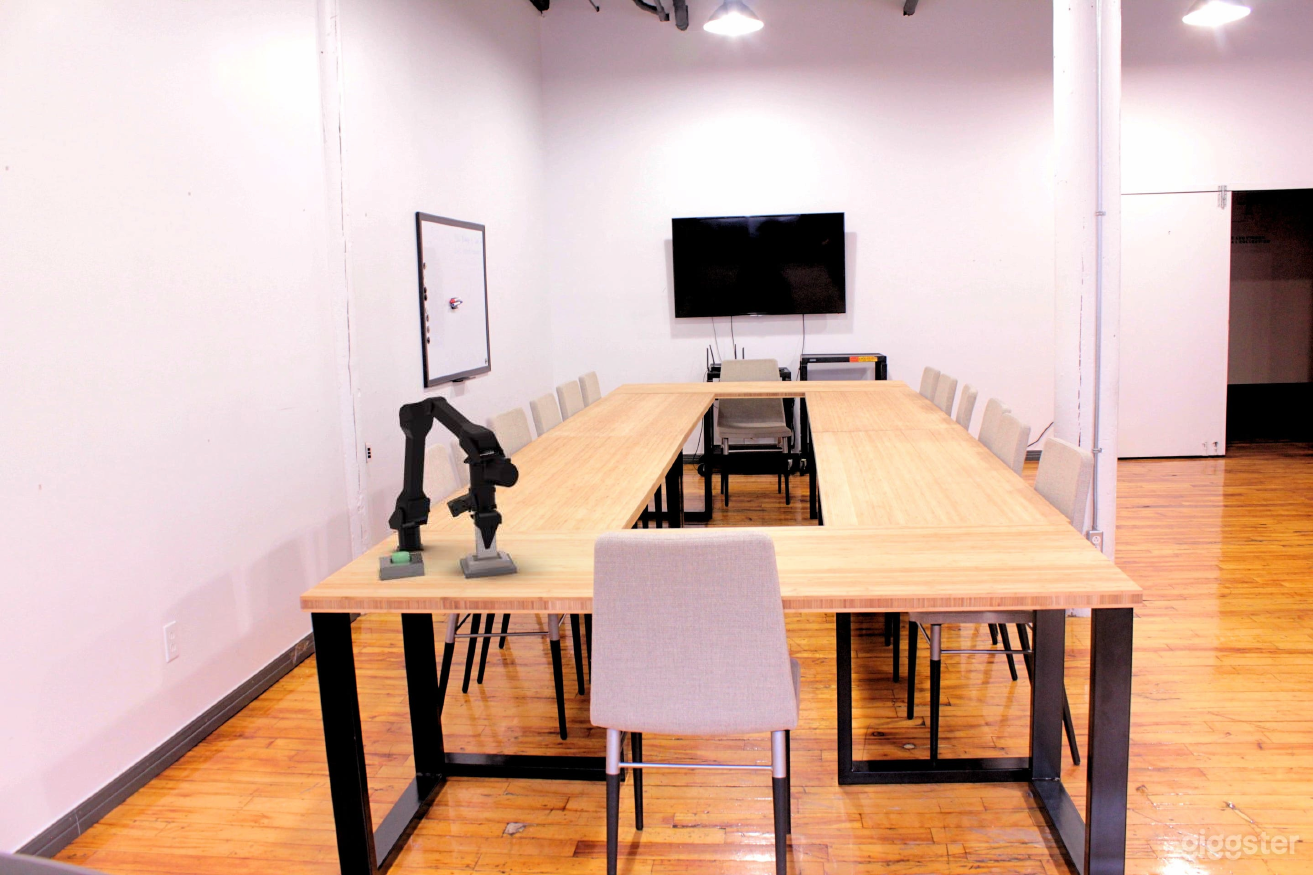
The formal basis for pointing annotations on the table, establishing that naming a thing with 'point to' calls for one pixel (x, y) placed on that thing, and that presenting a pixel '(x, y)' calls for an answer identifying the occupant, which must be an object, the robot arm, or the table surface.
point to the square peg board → (401, 567)
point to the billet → (480, 547)
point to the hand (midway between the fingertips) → (486, 546)
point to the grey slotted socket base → (487, 565)
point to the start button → (400, 557)
